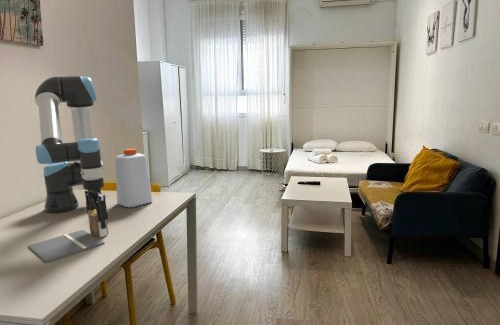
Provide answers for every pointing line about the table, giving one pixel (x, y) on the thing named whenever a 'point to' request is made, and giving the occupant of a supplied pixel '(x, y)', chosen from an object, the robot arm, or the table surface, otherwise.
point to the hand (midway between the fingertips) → (99, 233)
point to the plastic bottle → (132, 179)
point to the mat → (65, 245)
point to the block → (94, 223)
